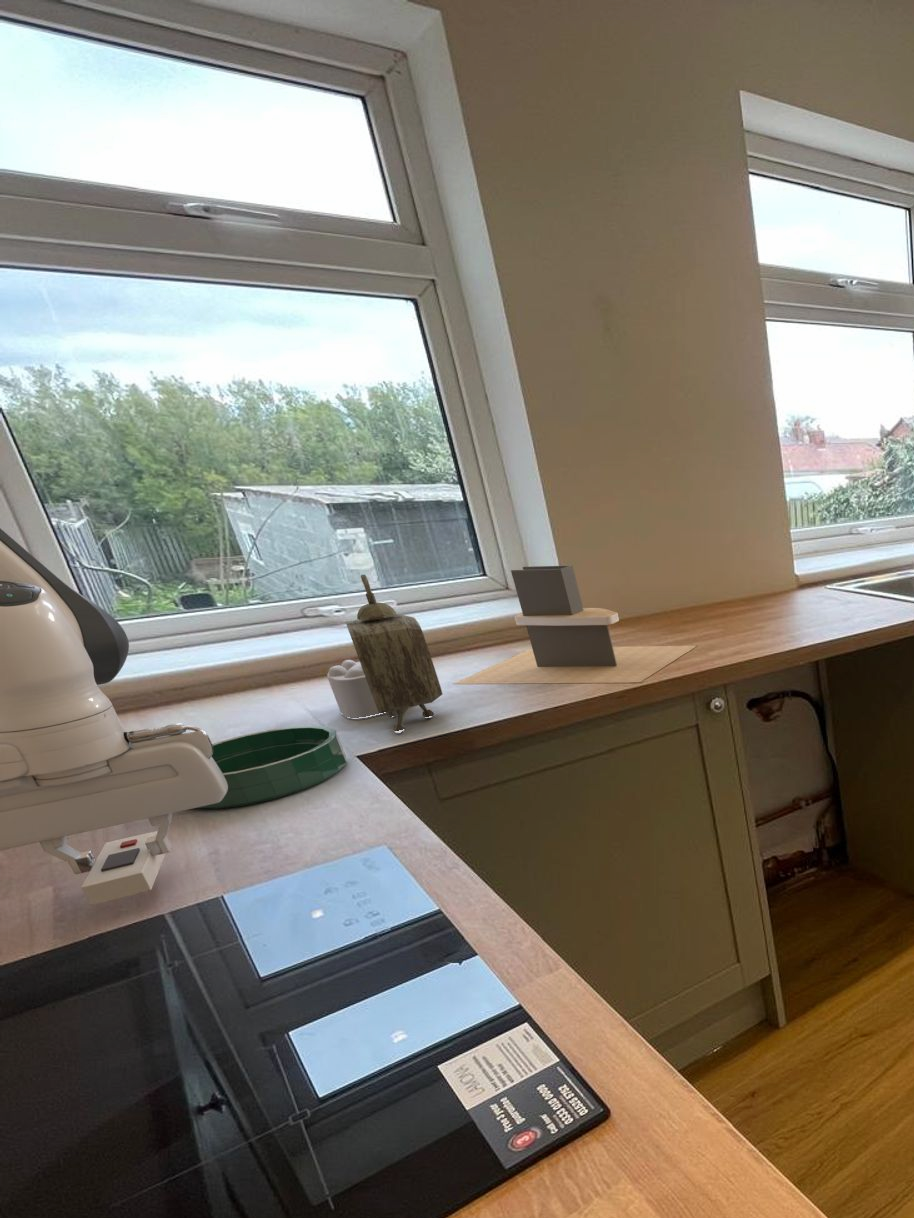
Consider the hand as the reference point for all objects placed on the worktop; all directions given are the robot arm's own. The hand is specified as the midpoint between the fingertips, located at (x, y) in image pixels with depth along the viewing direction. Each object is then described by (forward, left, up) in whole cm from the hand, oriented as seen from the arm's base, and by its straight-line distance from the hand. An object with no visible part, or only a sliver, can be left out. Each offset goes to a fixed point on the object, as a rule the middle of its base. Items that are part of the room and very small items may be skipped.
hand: (125, 861), depth 88 cm
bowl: (+10, +30, -4) cm, 32 cm away
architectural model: (+59, +62, -4) cm, 85 cm away
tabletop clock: (+29, +45, -4) cm, 53 cm away
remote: (0, 0, -2) cm, 2 cm away
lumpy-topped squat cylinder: (+24, +60, -4) cm, 65 cm away
